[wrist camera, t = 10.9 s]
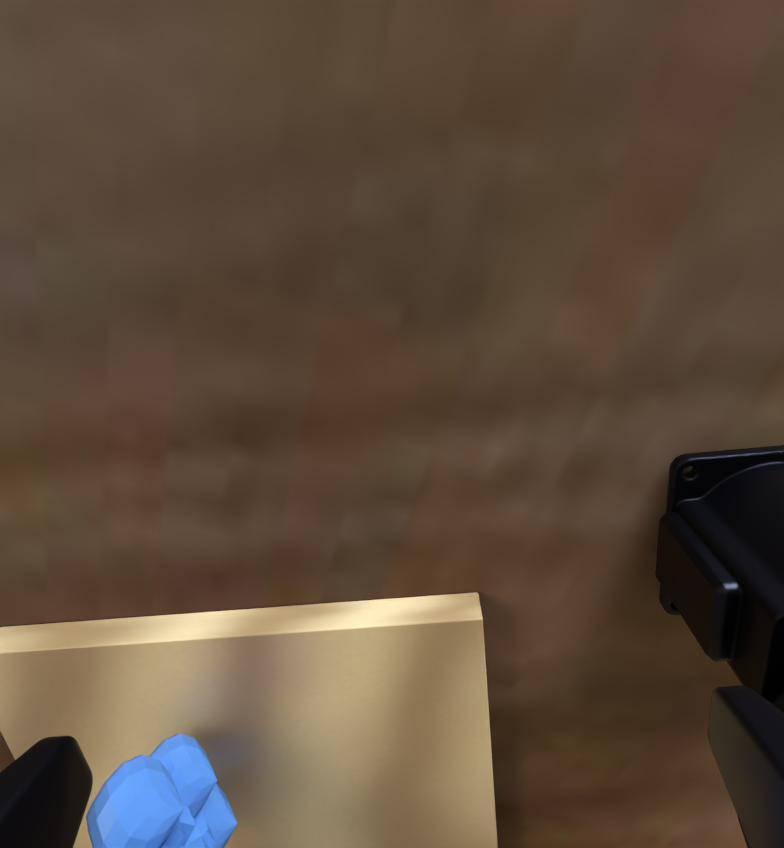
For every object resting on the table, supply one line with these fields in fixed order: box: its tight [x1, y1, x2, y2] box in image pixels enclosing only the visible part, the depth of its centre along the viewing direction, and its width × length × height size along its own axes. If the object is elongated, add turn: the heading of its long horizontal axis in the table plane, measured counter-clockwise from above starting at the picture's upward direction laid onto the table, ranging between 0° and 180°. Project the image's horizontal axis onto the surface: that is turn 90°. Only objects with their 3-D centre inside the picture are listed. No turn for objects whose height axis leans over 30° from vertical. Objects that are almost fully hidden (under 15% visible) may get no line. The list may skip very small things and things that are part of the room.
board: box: [0, 592, 498, 848], centre depth 25 cm, size 20×16×2 cm
